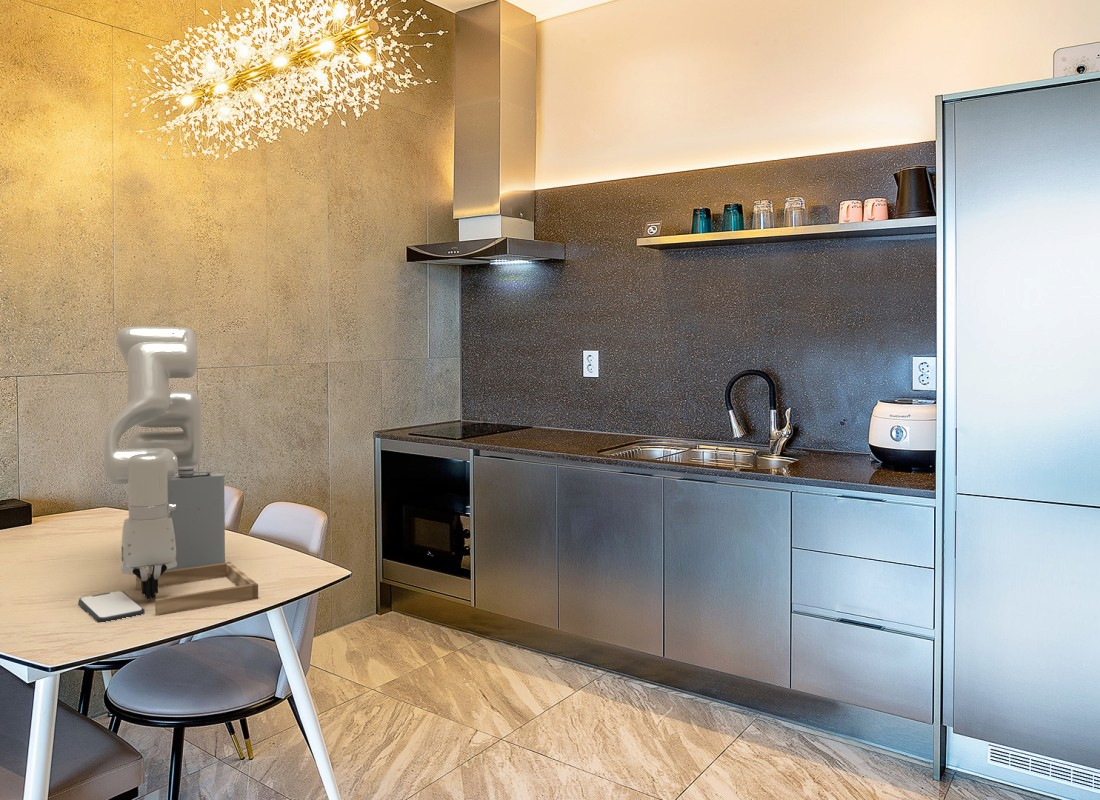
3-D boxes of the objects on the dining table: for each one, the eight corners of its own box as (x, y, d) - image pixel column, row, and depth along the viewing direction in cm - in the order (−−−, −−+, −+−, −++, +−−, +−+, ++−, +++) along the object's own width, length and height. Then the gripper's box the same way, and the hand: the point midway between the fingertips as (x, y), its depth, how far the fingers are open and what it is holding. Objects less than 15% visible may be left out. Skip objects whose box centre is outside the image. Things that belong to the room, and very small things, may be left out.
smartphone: (146, 617, 167) (122, 597, 178) (146, 609, 167) (122, 589, 178) (98, 627, 161) (76, 605, 172) (98, 619, 161) (76, 597, 172)
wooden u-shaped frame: (136, 588, 183) (136, 575, 183) (230, 574, 195) (230, 562, 195) (156, 615, 166) (156, 600, 166) (258, 598, 178) (258, 584, 178)
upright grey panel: (220, 561, 207) (219, 462, 205) (227, 565, 203) (226, 464, 201) (146, 573, 195) (144, 468, 194) (151, 577, 192) (150, 471, 190)
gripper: (182, 505, 181) (183, 587, 183) (106, 512, 173) (107, 598, 174) (190, 511, 175) (191, 596, 176) (111, 519, 166) (113, 608, 168)
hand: (149, 597), depth 175 cm, fingers closed
